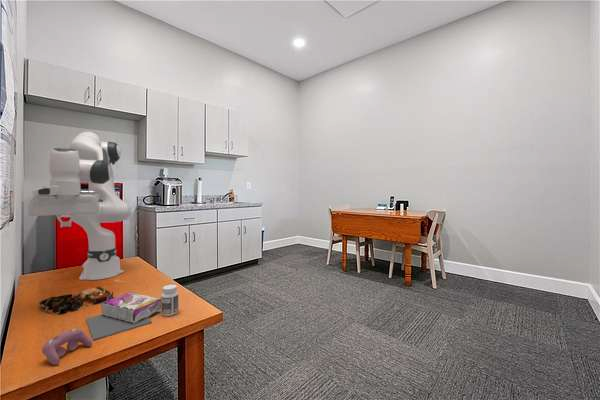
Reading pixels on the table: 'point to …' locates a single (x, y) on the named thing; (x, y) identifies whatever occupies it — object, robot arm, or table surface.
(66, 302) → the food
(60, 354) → the video game controller
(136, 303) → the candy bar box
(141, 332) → the table surface
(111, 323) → the mat
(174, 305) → the pill bottle
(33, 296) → the table surface
